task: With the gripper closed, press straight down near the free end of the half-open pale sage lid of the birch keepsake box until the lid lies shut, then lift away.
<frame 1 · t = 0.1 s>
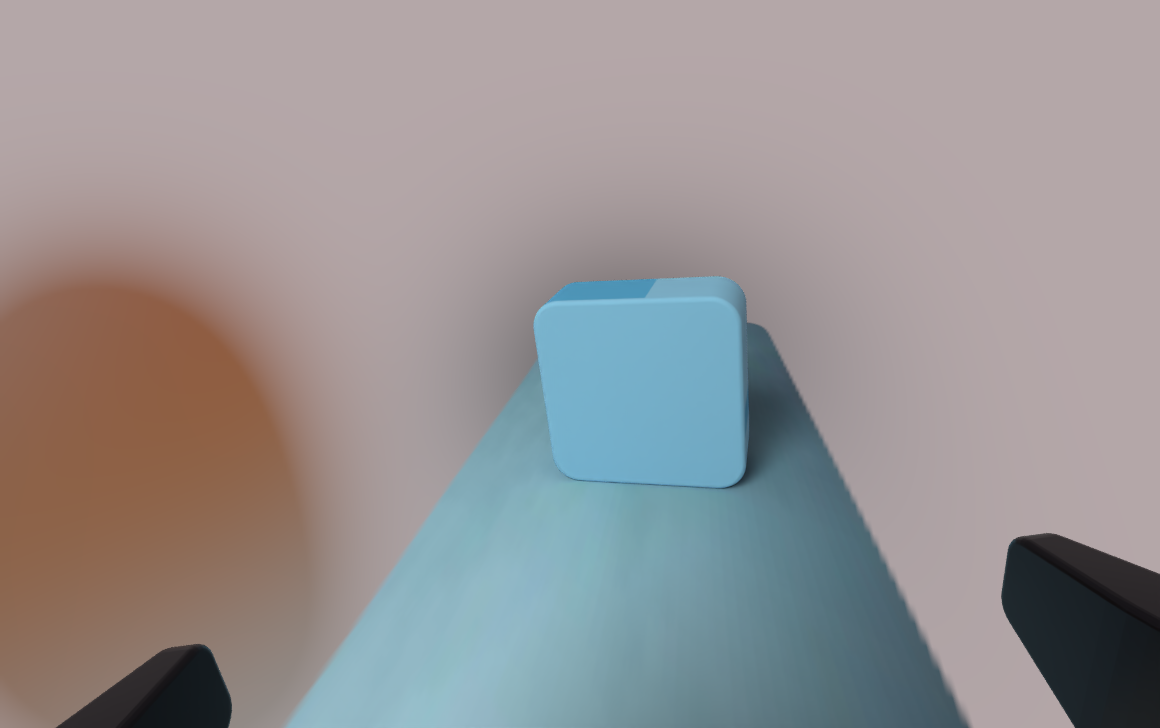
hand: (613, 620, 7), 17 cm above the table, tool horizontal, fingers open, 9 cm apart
data package: (653, 469, 42), on the table
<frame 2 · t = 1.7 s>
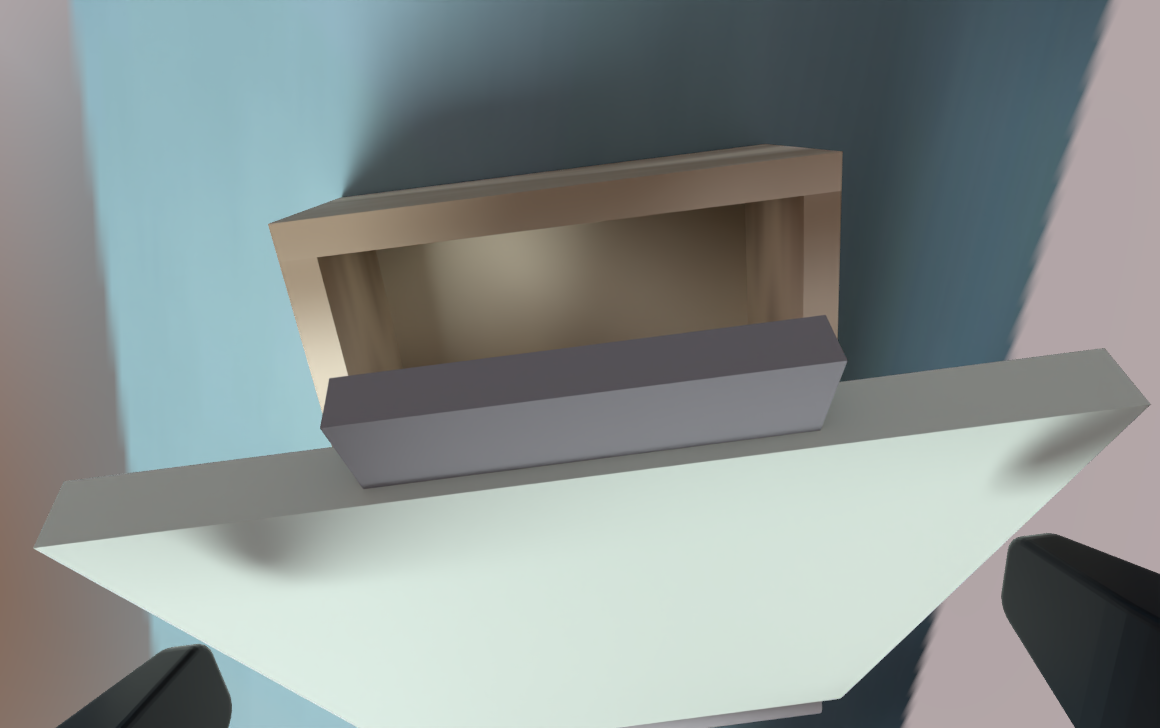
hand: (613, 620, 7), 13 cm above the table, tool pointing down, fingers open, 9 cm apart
box: (582, 398, 20), on the table
lid: (613, 638, 12), point 9 cm above the table, hinge at 30.0°
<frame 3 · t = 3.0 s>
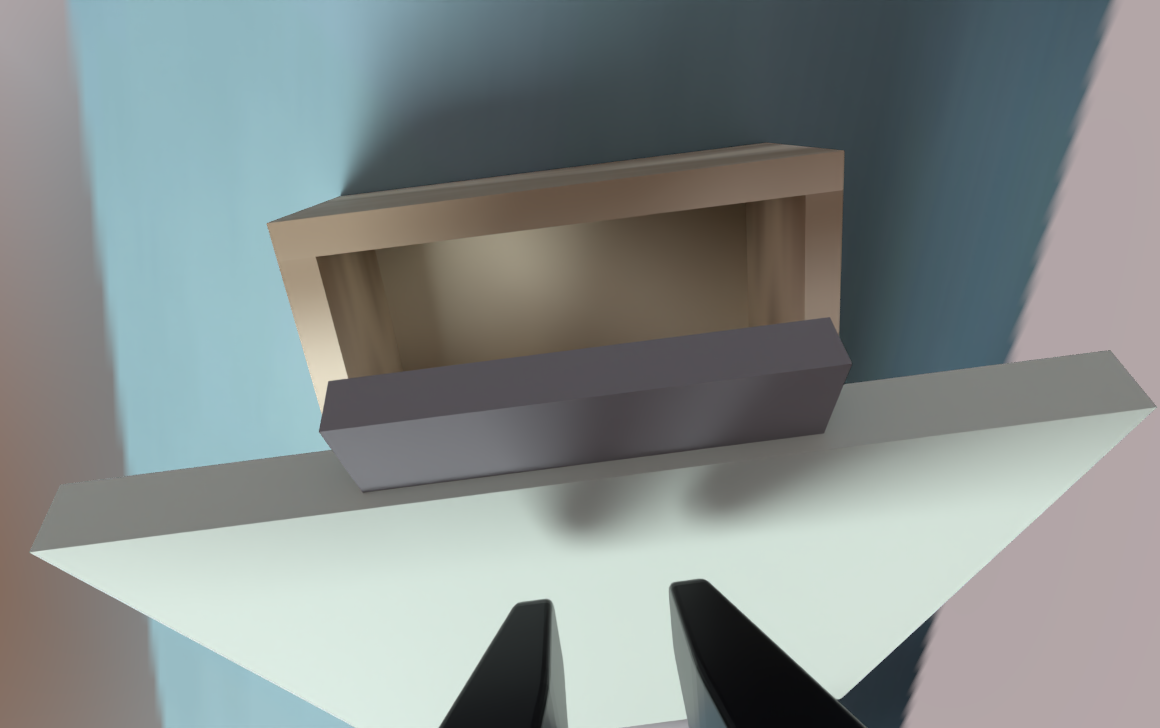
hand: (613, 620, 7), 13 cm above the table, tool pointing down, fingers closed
box: (582, 397, 20), on the table
lid: (614, 640, 12), point 9 cm above the table, hinge at 30.0°
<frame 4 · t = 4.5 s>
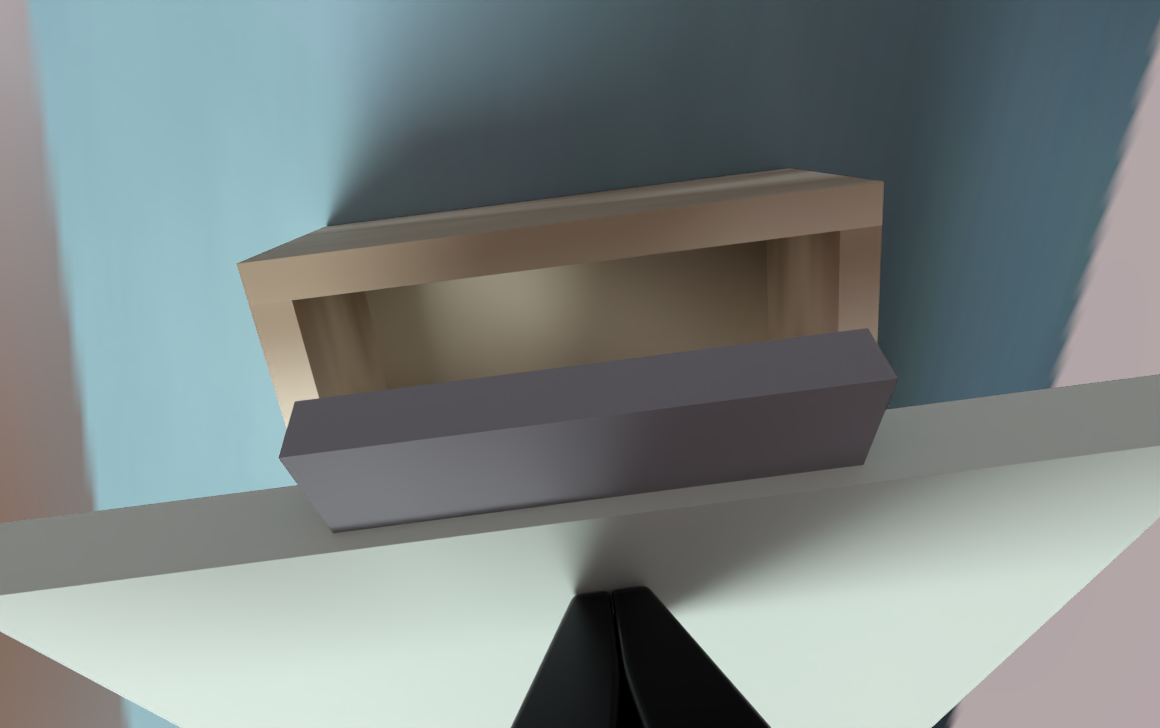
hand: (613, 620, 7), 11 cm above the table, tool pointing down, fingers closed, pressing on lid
box: (588, 440, 19), on the table
lid: (623, 710, 11), point 9 cm above the table, hinge at 26.0°, touching gripper
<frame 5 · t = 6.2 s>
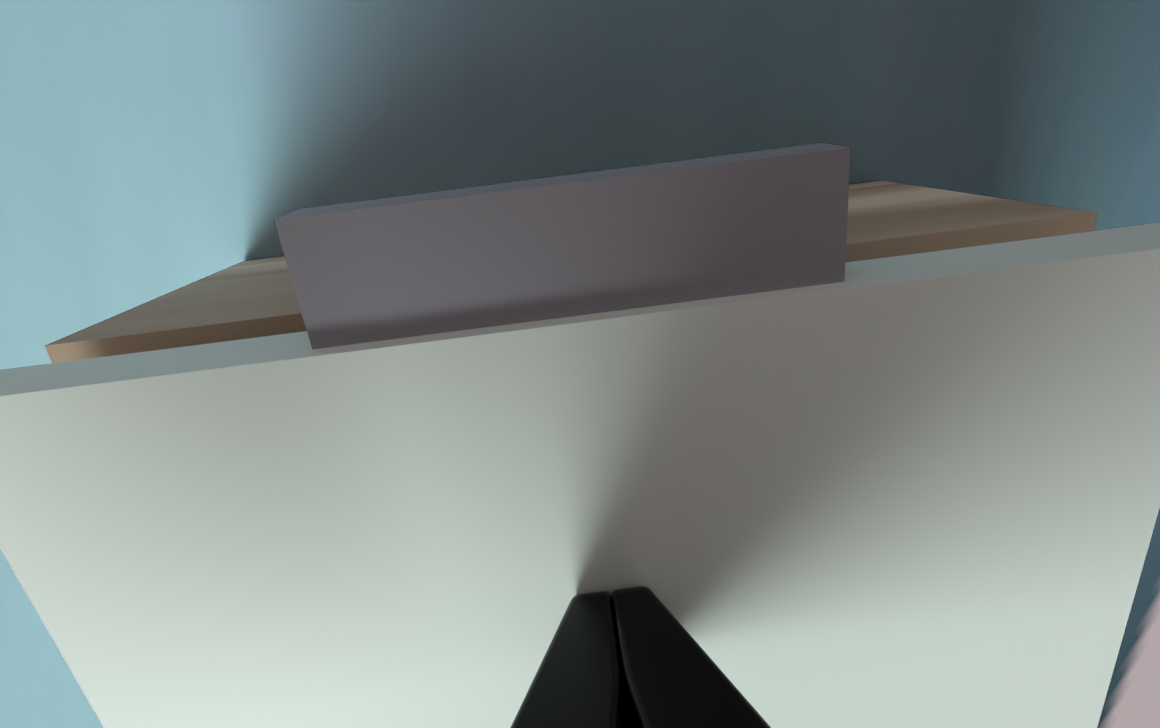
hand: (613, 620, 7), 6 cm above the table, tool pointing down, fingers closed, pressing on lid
box: (602, 536, 14), on the table
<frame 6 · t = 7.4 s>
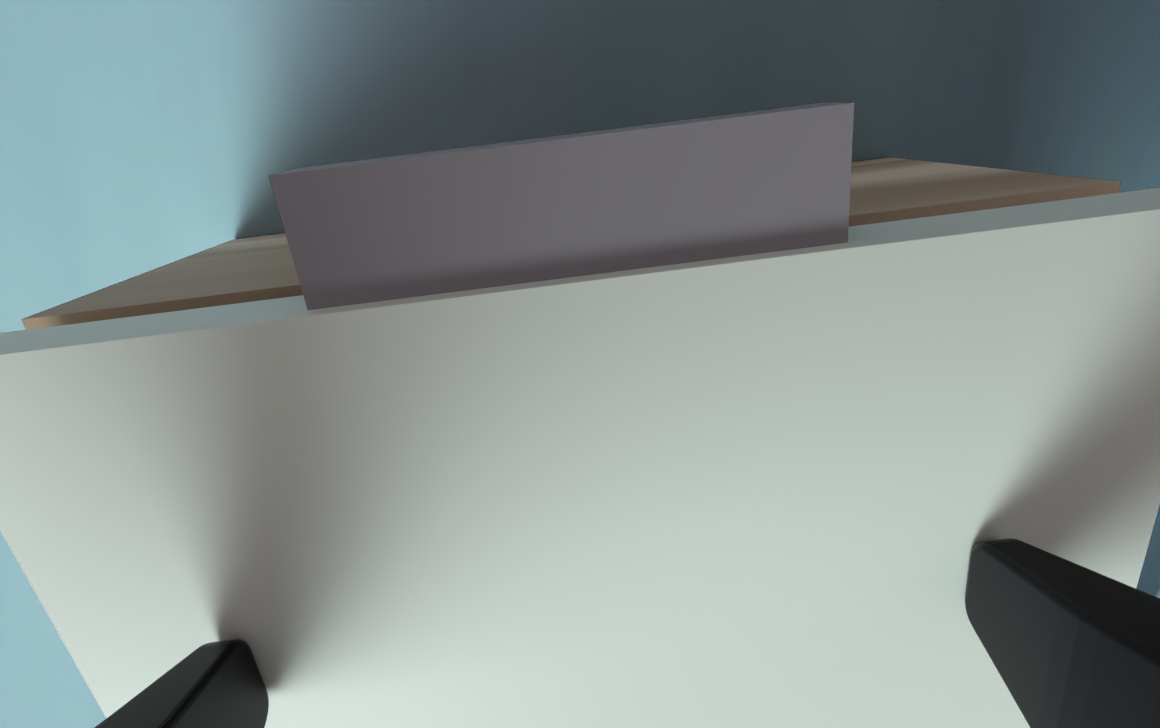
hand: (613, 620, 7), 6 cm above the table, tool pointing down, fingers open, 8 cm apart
box: (602, 523, 14), on the table
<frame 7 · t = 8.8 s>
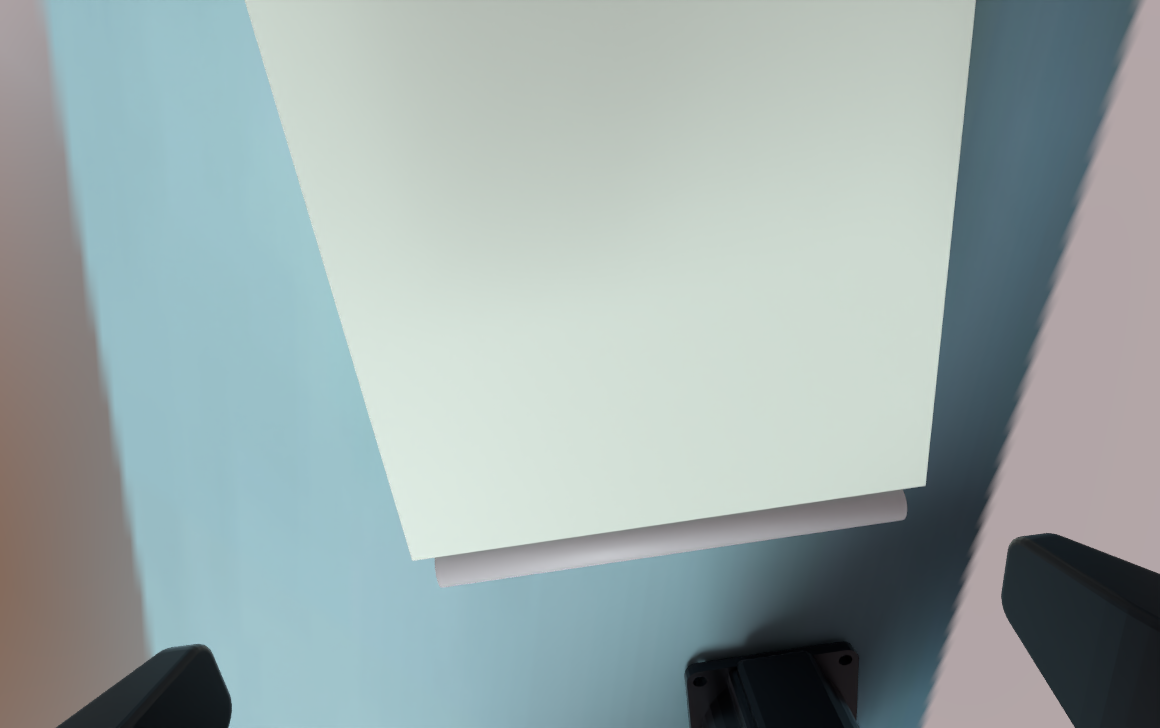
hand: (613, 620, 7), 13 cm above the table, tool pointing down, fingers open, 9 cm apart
lid: (639, 213, 12), point 6 cm above the table, hinge at 1.8°
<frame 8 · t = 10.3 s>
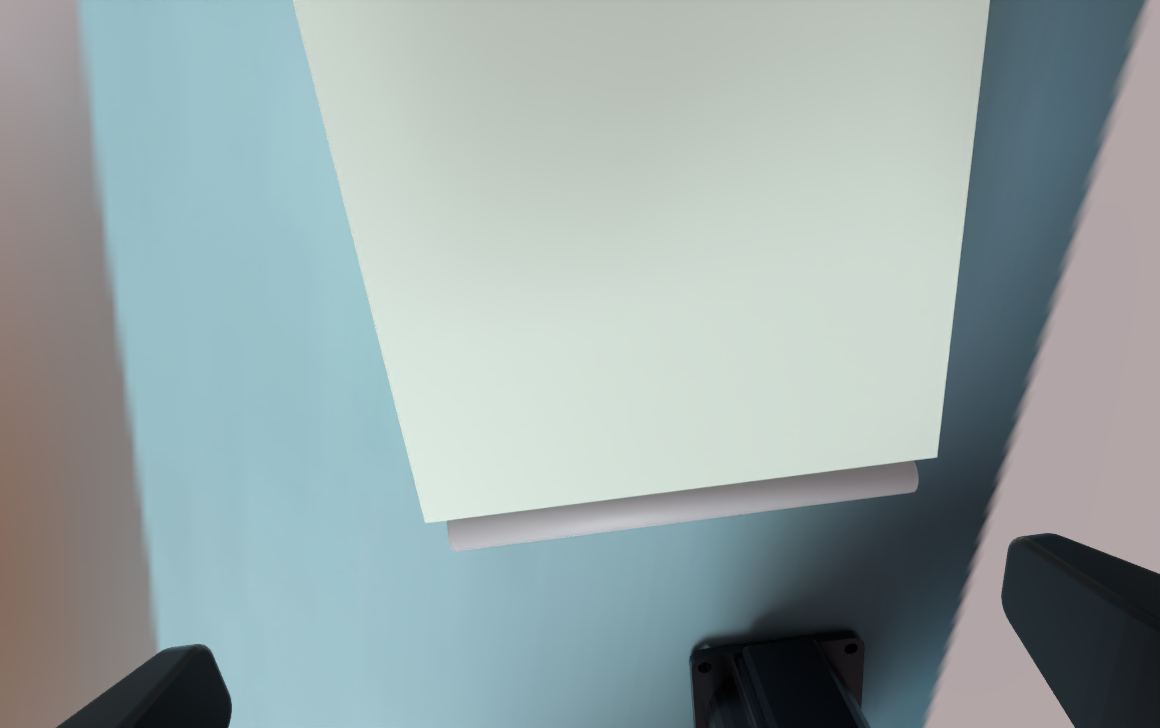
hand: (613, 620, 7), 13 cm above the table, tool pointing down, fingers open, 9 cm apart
lid: (658, 174, 12), point 6 cm above the table, hinge at 1.8°
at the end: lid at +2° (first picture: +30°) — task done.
